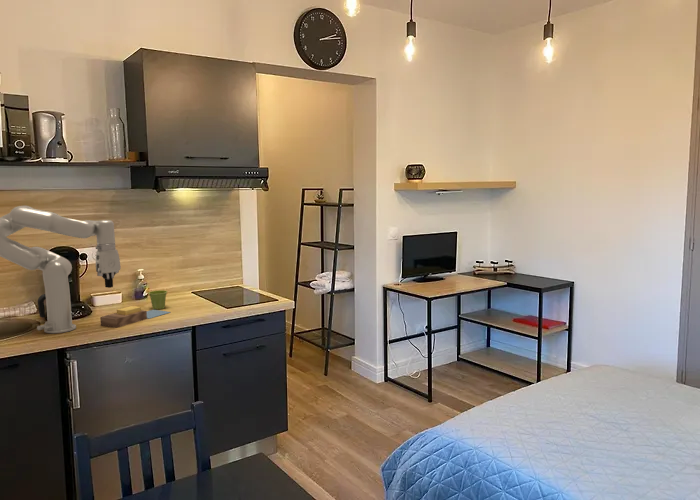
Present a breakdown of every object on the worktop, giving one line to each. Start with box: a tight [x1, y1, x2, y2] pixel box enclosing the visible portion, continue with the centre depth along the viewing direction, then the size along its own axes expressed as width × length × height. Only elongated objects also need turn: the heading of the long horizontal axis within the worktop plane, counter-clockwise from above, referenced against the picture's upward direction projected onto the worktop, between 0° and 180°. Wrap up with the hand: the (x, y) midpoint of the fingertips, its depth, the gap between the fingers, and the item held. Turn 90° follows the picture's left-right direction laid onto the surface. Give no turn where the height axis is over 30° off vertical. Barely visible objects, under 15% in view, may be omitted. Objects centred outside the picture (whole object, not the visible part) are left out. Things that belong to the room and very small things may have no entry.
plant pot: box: [147, 289, 168, 310], centre depth 277 cm, size 9×9×9 cm
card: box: [116, 305, 142, 315], centre depth 252 cm, size 9×6×2 cm, turn 154°
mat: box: [146, 309, 171, 320], centre depth 265 cm, size 14×12×1 cm
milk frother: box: [37, 293, 46, 319], centre depth 251 cm, size 14×16×15 cm
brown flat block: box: [99, 309, 148, 329], centre depth 250 cm, size 18×10×4 cm, turn 154°
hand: (109, 287), depth 241 cm, fingers closed
